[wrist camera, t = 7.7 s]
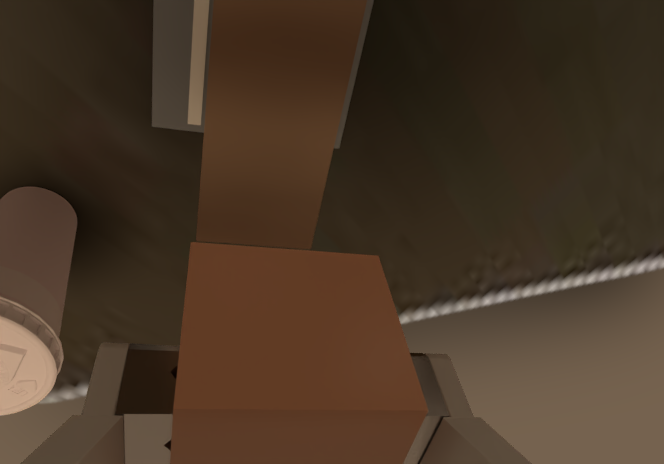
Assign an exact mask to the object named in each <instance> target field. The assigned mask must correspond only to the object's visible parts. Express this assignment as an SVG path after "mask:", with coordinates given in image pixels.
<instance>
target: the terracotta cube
mask: <svg viewBox="0 0 664 464" xmlns="http://www.w3.org/2000/svg"><path fill="white" fill-rule="evenodd" d="M427 412H428V408H427V405H426V401H425V398H424V395H423V392H422V389H421V386H420V383H419V380H418V377H417V374H416V371H415V368H414V364H413V361H412V358H411V355H410V352H409V349H408V346H407V343H406V340H405V337H404V334H403V331H402V327H401V324H400V321H399V318H398V315H397V312H396V309H395V306H394V303H393V300H392V296H391V293H390V290H389V287H388V284H387V281H386V278H385V275H384V272H383V269H382V266H381V263H380V259H379V256H375V255H362V254H348V253H334V252H321V251H307V250H293V249H280V248H266V247H252V246H238V245H225V244H211V243H197V242H191V246H190V256H189V265H188V274H187V284H186V293H185V303H184V312H183V322H182V331H181V340H180V350H179V359H178V369H177V378H176V387H175V397H174V406H173V421H172V439H171V456H170V464H403V462H404V460H405V458H406V456H407V454H408V452H409V450H410V448H411V446H412V444H413V442H414V440H415V437H416V435H417V433H418V431H419V429H420V427H421V425H422V423H423V421H424V419H425V417H426V415H427Z"/></svg>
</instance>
